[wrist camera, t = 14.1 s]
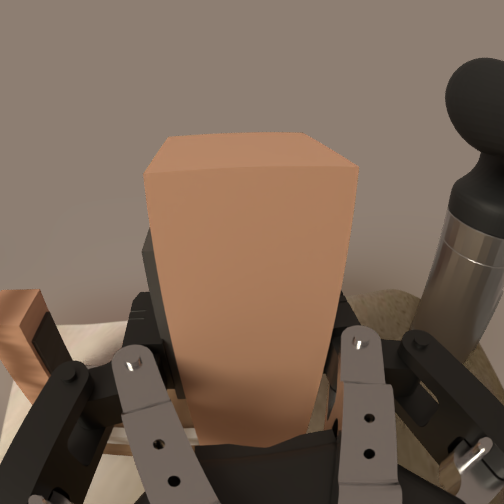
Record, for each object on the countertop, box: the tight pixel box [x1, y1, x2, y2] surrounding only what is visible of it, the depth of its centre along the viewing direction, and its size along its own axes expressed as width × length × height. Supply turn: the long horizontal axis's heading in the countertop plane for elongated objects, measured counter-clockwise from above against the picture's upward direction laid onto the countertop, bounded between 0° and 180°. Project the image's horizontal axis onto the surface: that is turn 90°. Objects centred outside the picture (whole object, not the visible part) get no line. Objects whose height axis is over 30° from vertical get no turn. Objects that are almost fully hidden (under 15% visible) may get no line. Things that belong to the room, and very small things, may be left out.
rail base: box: [0, 289, 199, 456], centre depth 24 cm, size 19×10×14 cm, turn 97°
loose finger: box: [142, 132, 359, 448], centre depth 11 cm, size 5×4×13 cm
